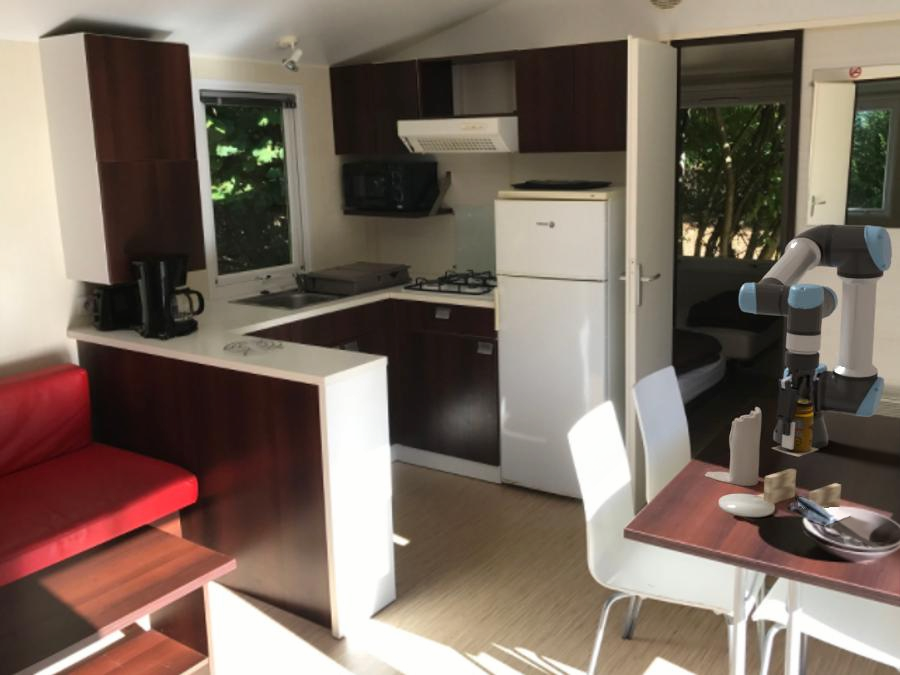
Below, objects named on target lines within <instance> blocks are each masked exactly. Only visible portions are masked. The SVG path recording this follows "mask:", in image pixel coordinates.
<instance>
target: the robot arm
mask: <svg viewBox="0 0 900 675" xmlns="http://www.w3.org/2000/svg"><path fill="white" fill-rule="evenodd" d="M892 256H893V250H892V241H891V237H890V234H889V232H888V230H887V229H886V228H884V227H882V226H874V225H870V224H869V225H868V224H867V225H864V224H822V225H817V226H815V227H811V228H810V229H807V230H804V231H803V232H801V233H799V234H798V235H796V236H795V237H794V238H792V239H791V240H790V241H789V242H788V244H786V246H785V249H784V254H783V255H782V256H781V257H780V258H779V259H778V260H777V261H776V263H775V264H774V265H772V267H771V268H770V270H769V271H767V273H766V274H765V275H764V276H762V277H763V278H761V280H760V281H758V282H745V283H744V284H742V286H741V287H740V289H739V293H738V306H739V309H740V310H741V312H744V313H750V314H754V315H766V316H767V315H768V316H779V317H780V316H781V317H787V323H786V339H785V340H786V341H785V348H786V349H787V350H786V351H785V353H784V365H785V367H786V368H784V371H783V378H779V379H778V381H777V382H778V397H777V398H778V399H777V408H776V420H778V421H777V422H776V425H775V428H774V430H773V437H772V438H773V441H774V442H775V443H777V444H778V445H782V447H784V448H788V449H791V450H792V449H794V434H795V422H793V418H794V415H795V411H796V407H797V403H798V399H799V398H803V399H808V400H811V401H812V402H813V406H812V407H813V410H812V412H813V414H814V418H813V432H812V447H813V448H817V449H822V448H825V447H827V446H828V445H829V434H828V431H827V426H826V423H825V419H824V412H829V413H836V414H844V415H848V416H849V415H850V416H854V417H866V418H868V417H869V418H870V417H872V416H874V415H875V414H876V412H877V411H878V408H879V406H880V403H881V399H882V396H883V392H884V386H885V379H884V378H883V377H881V376H879V375H878V373H879V371H878V368H877V367H876V366H875V365H874V364H873V357H874V356H873V355H874V354H873V353H874V338H875V337H874V336H875V323H876V322H875V320H876V306H877V304H876V302H877V300H876V299H877V284H878V281H879V280H881V279H882V278H883V277H884V274H885V273H884V272H886V271H888V270H889V269H890V268H891V264H892V258H893V257H892ZM816 267H828V268H836V276H837V277H838V278H839V279H840V280H841V281H842V284H841V285H842V287H841V288H842V289H841V306H840V307H841V308H840V309H841V310H840V330H839V352H838V356H839V357H838V362H837V363H836V364H835V365H834V366H833V367H832V371H831V370H828V366H827V365H826V364H823V363H820V356H821V354H820V352H819V351H820V350H821V345H822V344H821V343H822V342H821V340H822V323H823V319H825V318H827V317H830V316H831V315H832V314H833V313H834V312H835V310H836V309H837V307H838V303H839V301H838V296H837V293H836V292H835V291H834V290H833V289H832V288H830V287H828V286H825V285H820V284H815V283H799V282H800V281H801V280H802V278H803V277H804V276H805V275H806V274H807V272H808V271H811V270H813V269H815V268H816Z"/></svg>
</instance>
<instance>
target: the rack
mask: <svg viewBox="0 0 900 675" xmlns="http://www.w3.org/2000/svg"><path fill="white" fill-rule="evenodd" d="M796 478H797V469H795V468H788V469H783V470H782V471H778V472H776V473H775V472H774V473H771V474H769V475H765V476H764V482H763V484H764V485H763V493H760V494H757V495H756V496H757V497H759V496H760V497H759V499H762V500H764V501H767V502H773V503H774V504H777V503H780V502H782V501H785V500H788V499H791V498H794V497H795V496H796V481H797V479H796ZM841 492H842V484H839V483H837V482H835V483H832V484H828V485H826V486H822V487H820V488H816V489H814V490H811V491H809V492H808V501H809V500H812V501H813V502H815V503H817V504H818V505H820V506H822V507H824V508H829V507H841V496H842V495H841V494H842V493H841ZM754 497H755V496H754ZM757 497H756V498H757ZM763 498H764V499H763Z"/></svg>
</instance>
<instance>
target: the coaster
mask: <svg viewBox="0 0 900 675" xmlns="http://www.w3.org/2000/svg"><path fill="white" fill-rule="evenodd" d="M754 496H755V497H754ZM756 497H757V495H756V494H749V493H731V494H726V495H723V496H721V497H720V498H719V499H718V507H719V508H720V509H721V510H722V511H724V512H726V513H728V514H731V515H734V516H738V517H744V518H762V517H763V518H764V517H767V516H770V515H772V514H773V513H775V510H776V509H775V508H776V506H775V503H773V502H767V501H764V500H762V499H759V497H760V496H759V497H757V498H756ZM763 499H764V498H763Z"/></svg>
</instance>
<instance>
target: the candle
mask: <svg viewBox="0 0 900 675" xmlns="http://www.w3.org/2000/svg"><path fill="white" fill-rule="evenodd" d="M762 414H763V413H762V410H761V408H760V407H758V406H755V408H754V410H750V413H749V414H744V415H740V417H736V418H734V420H733V421H732V422H731V430H730V433H729V437H728V438H729V439H728V443H729V449H730V454H729V455H730V460H729V472H726V471H707V472H706V473H705V474H704V476H705V477H706V478H711V479H713V480H715V481H719V482H722V483H727V484H732V485H737V486H741V487H742V486H743V487H747V486H748V487H752V486H756V485H757V484H758V483H759V471H760V470H759V467H760V443H761V442H760V441H761V431H762V418H763V417H762Z"/></svg>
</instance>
